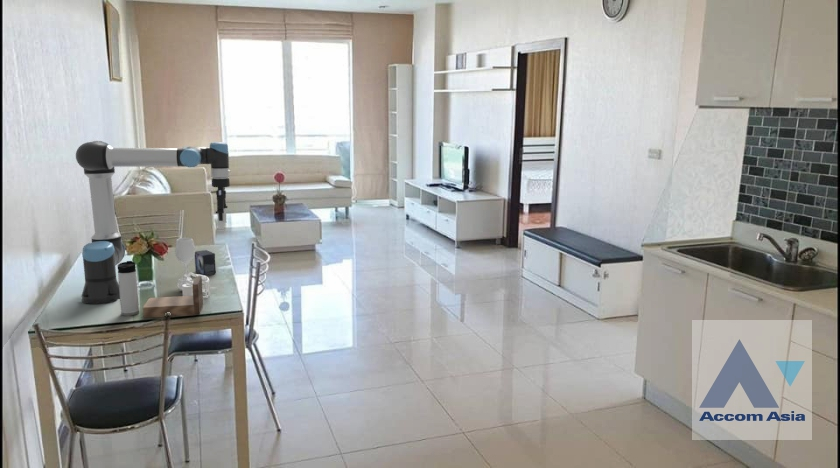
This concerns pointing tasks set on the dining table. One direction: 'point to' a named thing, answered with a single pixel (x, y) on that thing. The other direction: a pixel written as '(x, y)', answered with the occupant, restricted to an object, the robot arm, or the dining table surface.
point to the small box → (205, 262)
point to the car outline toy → (186, 283)
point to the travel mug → (128, 288)
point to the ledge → (176, 303)
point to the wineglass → (185, 251)
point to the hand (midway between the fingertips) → (222, 225)
